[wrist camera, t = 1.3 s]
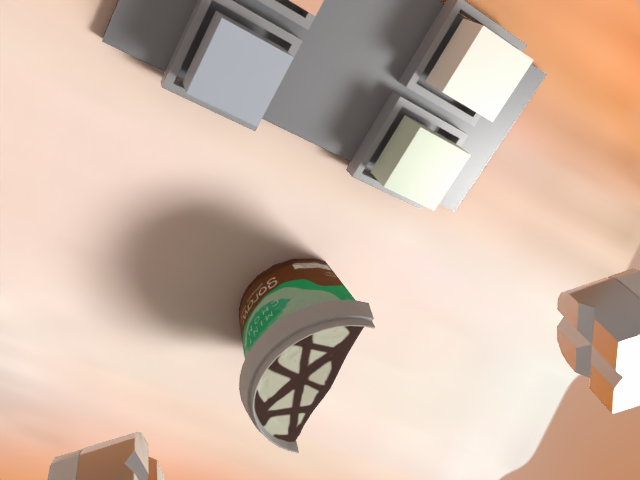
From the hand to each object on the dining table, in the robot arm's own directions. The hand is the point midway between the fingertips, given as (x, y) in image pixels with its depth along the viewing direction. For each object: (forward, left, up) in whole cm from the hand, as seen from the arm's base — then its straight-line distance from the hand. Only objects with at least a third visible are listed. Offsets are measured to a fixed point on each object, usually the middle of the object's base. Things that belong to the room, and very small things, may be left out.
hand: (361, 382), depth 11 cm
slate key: (0, -2, -28) cm, 29 cm away
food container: (-15, -13, -31) cm, 37 cm away
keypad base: (+4, -9, -31) cm, 32 cm away
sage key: (0, -16, -28) cm, 33 cm away
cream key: (+7, -16, -28) cm, 33 cm away
